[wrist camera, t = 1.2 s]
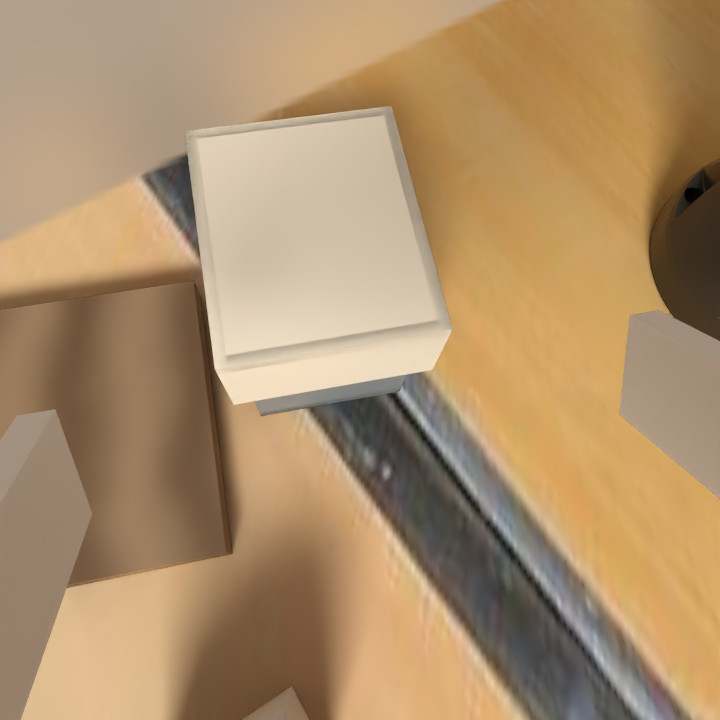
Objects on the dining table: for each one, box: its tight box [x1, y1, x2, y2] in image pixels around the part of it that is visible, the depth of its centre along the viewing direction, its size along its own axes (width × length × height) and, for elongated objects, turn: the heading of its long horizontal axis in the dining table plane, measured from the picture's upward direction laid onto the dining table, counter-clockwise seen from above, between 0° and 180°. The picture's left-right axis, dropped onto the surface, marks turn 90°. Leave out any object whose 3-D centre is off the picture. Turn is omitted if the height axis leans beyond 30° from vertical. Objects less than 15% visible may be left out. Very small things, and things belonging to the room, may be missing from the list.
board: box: [0, 281, 232, 588], centre depth 32 cm, size 13×15×2 cm
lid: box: [185, 106, 452, 405], centre depth 28 cm, size 10×12×5 cm
